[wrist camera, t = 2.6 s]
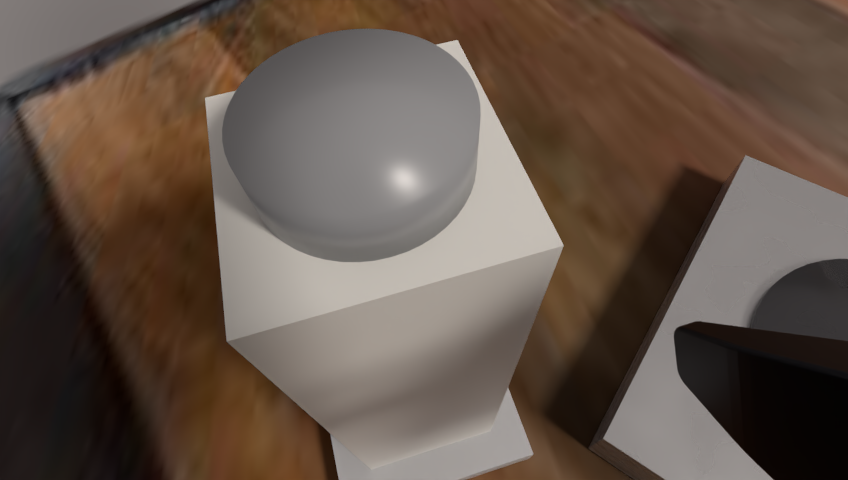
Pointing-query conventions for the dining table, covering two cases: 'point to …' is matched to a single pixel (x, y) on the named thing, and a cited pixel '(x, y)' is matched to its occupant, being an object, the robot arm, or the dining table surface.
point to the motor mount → (730, 318)
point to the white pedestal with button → (381, 250)
